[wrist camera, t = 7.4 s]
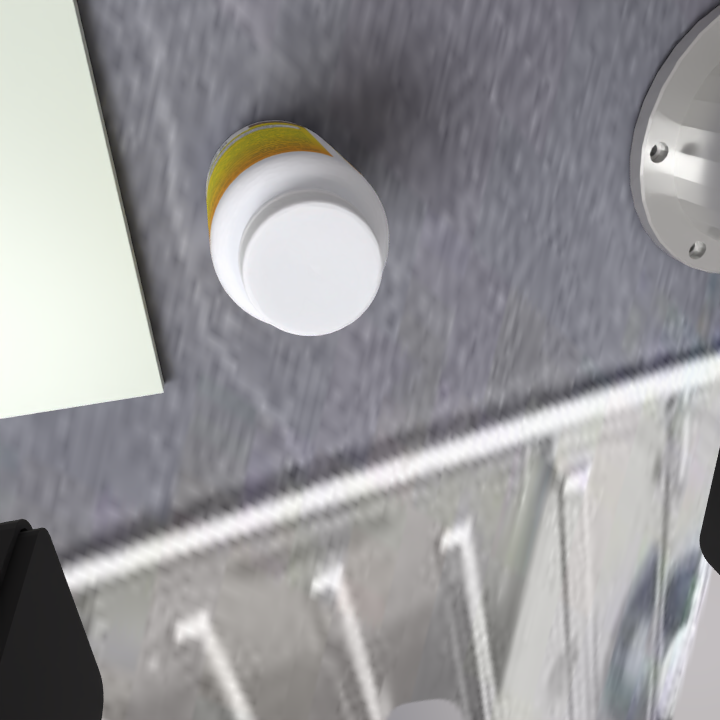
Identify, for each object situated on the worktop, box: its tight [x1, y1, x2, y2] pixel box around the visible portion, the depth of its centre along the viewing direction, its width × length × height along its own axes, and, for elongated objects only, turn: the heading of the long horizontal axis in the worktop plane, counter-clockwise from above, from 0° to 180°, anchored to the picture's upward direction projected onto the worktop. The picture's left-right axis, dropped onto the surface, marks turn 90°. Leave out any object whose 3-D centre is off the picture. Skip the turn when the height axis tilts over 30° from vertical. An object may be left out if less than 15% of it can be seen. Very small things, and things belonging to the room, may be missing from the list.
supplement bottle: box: [206, 120, 389, 336], centre depth 23 cm, size 6×6×10 cm
